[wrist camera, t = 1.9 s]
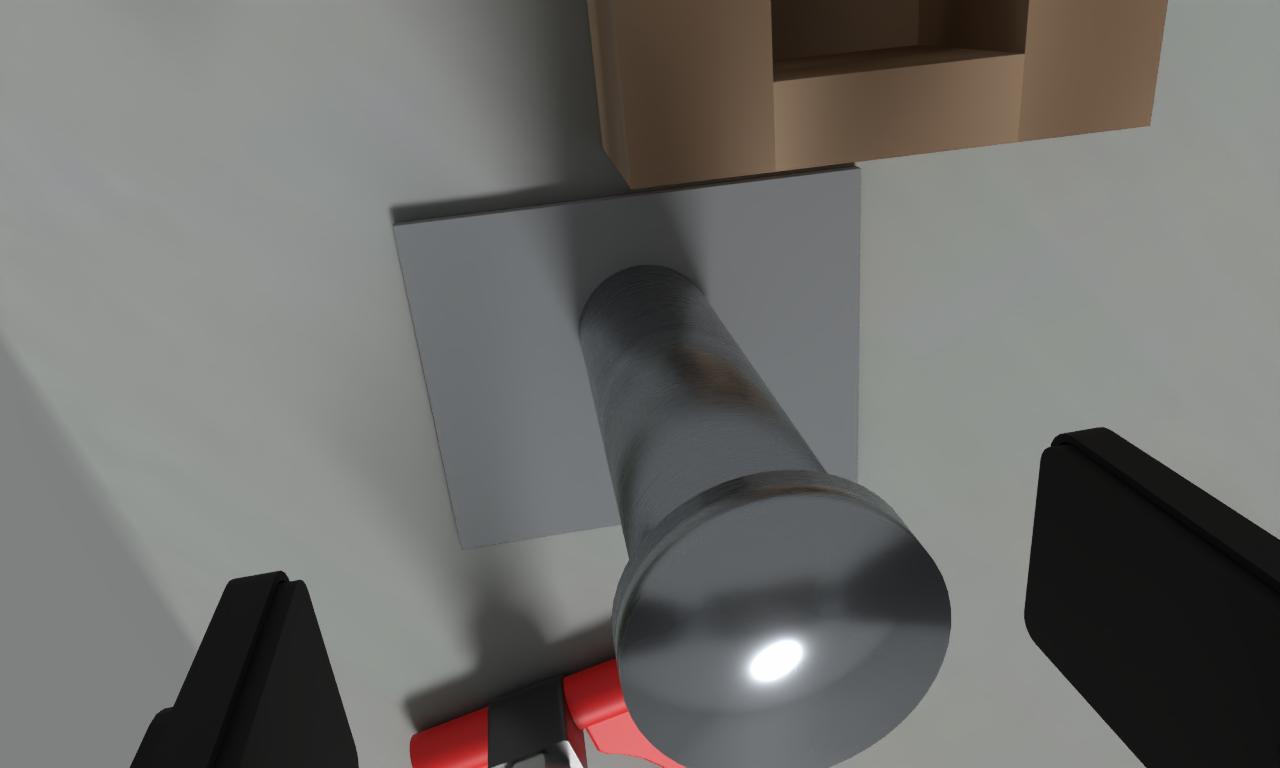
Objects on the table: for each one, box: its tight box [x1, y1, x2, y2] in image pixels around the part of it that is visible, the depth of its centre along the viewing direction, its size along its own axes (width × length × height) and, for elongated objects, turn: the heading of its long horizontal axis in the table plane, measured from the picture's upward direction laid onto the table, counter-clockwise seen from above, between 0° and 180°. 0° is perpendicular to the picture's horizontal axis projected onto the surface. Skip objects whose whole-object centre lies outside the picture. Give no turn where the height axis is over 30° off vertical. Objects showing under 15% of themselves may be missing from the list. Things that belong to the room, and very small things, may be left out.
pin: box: [579, 265, 951, 768], centre depth 15 cm, size 4×4×11 cm
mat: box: [393, 166, 861, 550], centre depth 20 cm, size 10×8×1 cm
